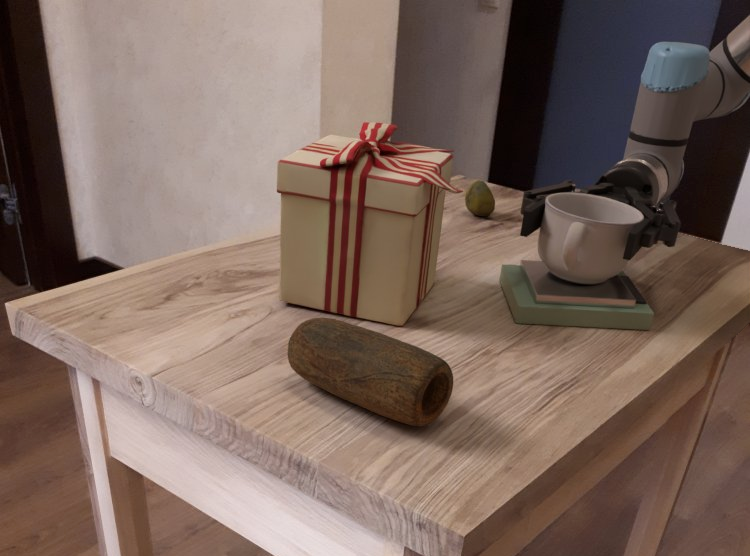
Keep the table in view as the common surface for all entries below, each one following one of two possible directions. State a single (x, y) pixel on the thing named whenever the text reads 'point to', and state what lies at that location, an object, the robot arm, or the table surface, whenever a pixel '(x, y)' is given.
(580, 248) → the teacup
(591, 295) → the pan
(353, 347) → the wooden vase
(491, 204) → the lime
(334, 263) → the gift box
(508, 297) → the scale
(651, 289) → the table surface
